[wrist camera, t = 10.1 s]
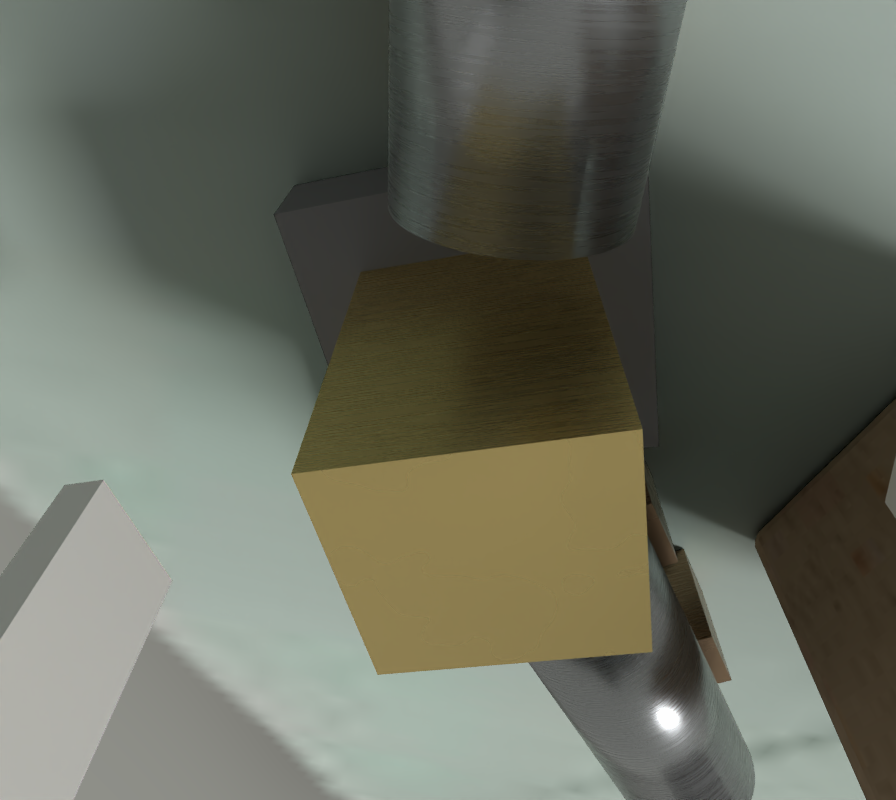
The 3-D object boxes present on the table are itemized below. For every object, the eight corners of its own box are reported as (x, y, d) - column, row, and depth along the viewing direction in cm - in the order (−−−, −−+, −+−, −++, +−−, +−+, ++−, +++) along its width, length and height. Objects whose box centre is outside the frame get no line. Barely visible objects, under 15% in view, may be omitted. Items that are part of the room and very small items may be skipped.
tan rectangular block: (409, 440, 18) (377, 674, 13) (360, 271, 16) (291, 474, 10) (596, 415, 18) (652, 652, 12) (580, 234, 15) (642, 429, 9)
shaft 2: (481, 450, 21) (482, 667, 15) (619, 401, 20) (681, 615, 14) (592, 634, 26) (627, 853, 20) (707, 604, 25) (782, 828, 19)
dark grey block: (294, 185, 17) (273, 214, 15) (629, 118, 15) (646, 141, 14) (379, 440, 21) (370, 484, 19) (644, 403, 20) (658, 446, 18)
